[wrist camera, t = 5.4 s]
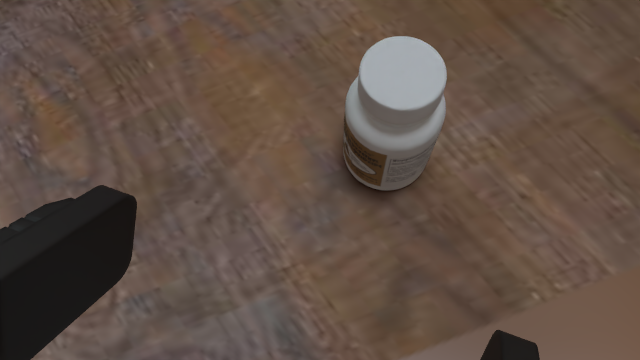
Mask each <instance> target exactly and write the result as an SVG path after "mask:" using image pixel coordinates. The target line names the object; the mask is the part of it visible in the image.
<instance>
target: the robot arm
mask: <svg viewBox="0 0 640 360" xmlns="http://www.w3.org/2000/svg"><path fill="white" fill-rule="evenodd" d="M136 210H137V202H136V199H135V197H134V196H131V195H129V194H126V193H123V192H120V191H118V190H115V189H112V188H109V187H107V186H104V185H100V186H97V187H95V188H93V189H92V190H90V191H88V192H86V193H85V194H83V195H81V196H80V197H78V198H76V199H73V198H68V199H64V200H60V201H56V202H52V203H48V204H45V205H43V206H42V207H40V208H38V209H36V210H34V211H33V212H31V213H29V214H27V215H26V217H25V218H20V219H18V220H16V221H15V222H13V223H11V224H9V227H8V228H7V227H4V228H2V229H0V360H30V359H32V358H33V357H34V356H35V355H36V354H37V353H38V352H39V351H41V350H42V349H43V348H44V347H45V346H46V345H47V344H48V343H50V342H51V341H52V340H53V339H54V338H55V337H56V336H57V335H59V334H60V333H61V332H62V331H63V330H64V329H65V328H67V327H68V326H69V325H70V324H71V323H72V322H73V321H74V320H76V319H77V318H78V317H79V316H80V315H81V314H82V313H83V312H85V311H86V310H87V309H88V308H89V307H90V306H91V305H93V304H94V303H95V302H96V301H97V300H98V299H99V298H100V297H102V296H103V295H104V294H105V293H106V292H107V291H108V290H109V289H111V288H112V287H113V286H114V285H115V284H116V283H117V282H118V281H119V280H120V279H121V278H122V277H123V275H124V274H125V272H126V270H127V268H128V266H129V264H130V261H131V257H132V249H133V239H134V230H135V220H136ZM480 360H540V358H539V353H538V347H537V345H536V344H535V343H533V342H530V341H528V340H525V339H522V338H520V337H517V336H514V335H511V334H509V333H506V332H503V331H500V330H496V331H495V332H494V334H493V335H492V337H491V339H490V341H489V343H488V345H487V347H486V349H485V351H484V353H483V355H482V357H481V359H480Z"/></svg>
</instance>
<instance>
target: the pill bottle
mask: <svg viewBox="0 0 640 360" xmlns="http://www.w3.org/2000/svg"><path fill="white" fill-rule="evenodd" d="M446 80H447V72H446V67H445V63H444V61H443V59H442V57H441V56H440V54H439V53H438V52H437V51H436V50H435V49H434V48H433V47H432V46H430V45H429V44H427V43H425V42H423V41H422V40H419V39H416V38H413V37H407V36H397V37H390V38H386V39H384V40H381V41H379V42H377V43H376V44H374V45H373V46H372V47H371V48H370V49H369V50H368V51H367V52H366V53H365V55H364V57H363V59H362V61H361V64H360V68H359V76H358V77H357V78H356V79H355V81H354V82H353V83H352V85H351V87H350V89H349V91H348V94H347V97H346V103H345V117H344V122H345V123H344V145H343V153H344V159H345V162H346V165H347V167H348V169H349V170H350V172H351V173H352V174H353V176H354V177H355V178H356V179H357V180H358V181H360V182H361V183H363V184H365V185H366V186H369V187H371V188H374V189H378V190H385V191H387V190H396V189H400V188H403V187H405V186H407V185H409V184H411V183H412V182H413V181H415V180H416V179H417V178H418V177H419V176H420V174H421V173H422V172H423V170H424V168H425V166H426V164H427V162H428V159H429V157H430V154H431V152H432V150H433V147H434V145H435V143H436V140H437V138H438V136H439V133H440V131H441V128H442V125H443V122H444V119H445V113H446V104H445V98H444V95H443V92H444V89H445V85H446Z"/></svg>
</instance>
